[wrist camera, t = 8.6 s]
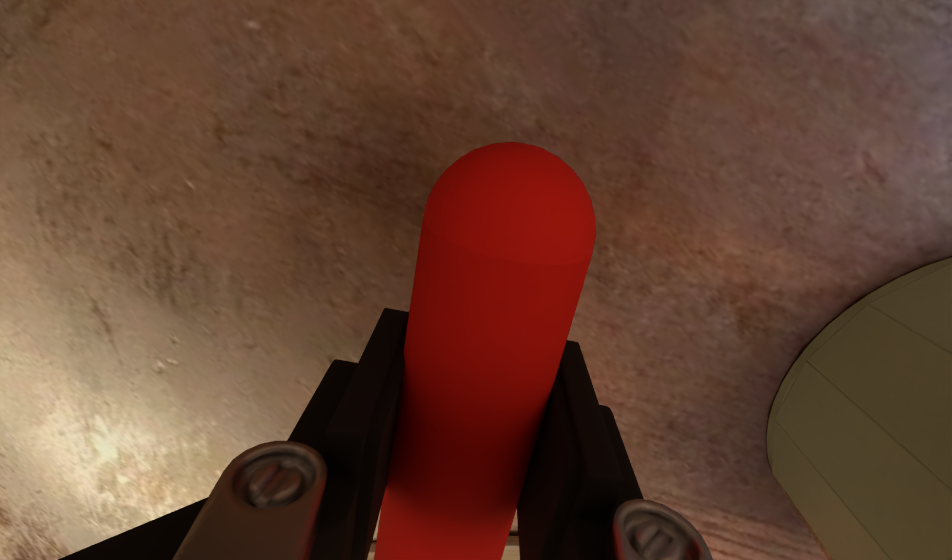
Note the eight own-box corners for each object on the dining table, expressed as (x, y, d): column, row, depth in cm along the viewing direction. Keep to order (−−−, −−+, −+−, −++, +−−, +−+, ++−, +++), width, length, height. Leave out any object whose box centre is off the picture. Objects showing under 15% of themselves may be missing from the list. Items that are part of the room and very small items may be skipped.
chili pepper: (445, 119, 8) (424, 136, 6) (596, 149, 9) (642, 178, 6) (376, 574, 13) (348, 693, 11) (476, 589, 13) (471, 712, 11)
